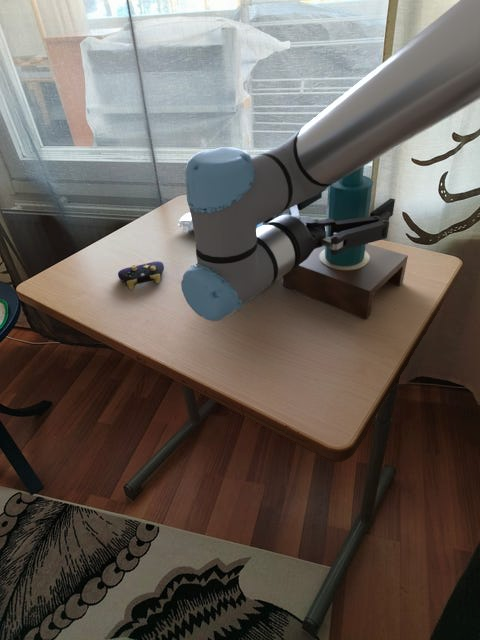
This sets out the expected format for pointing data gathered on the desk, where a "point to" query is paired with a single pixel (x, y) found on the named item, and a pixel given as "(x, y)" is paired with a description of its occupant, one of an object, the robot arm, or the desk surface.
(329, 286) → the dark brown wooden block
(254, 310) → the desk surface
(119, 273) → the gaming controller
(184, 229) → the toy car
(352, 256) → the bottle
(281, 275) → the robot arm
